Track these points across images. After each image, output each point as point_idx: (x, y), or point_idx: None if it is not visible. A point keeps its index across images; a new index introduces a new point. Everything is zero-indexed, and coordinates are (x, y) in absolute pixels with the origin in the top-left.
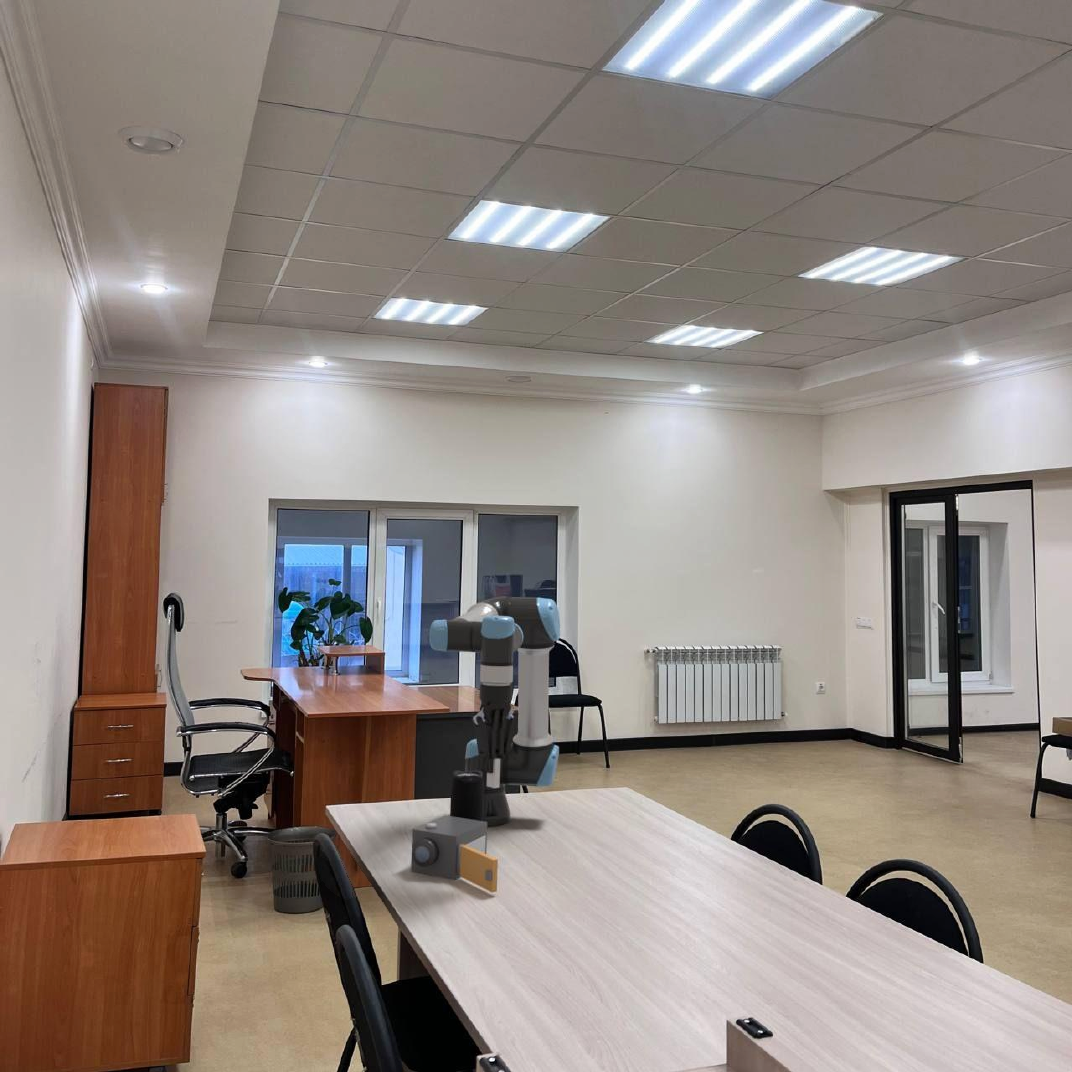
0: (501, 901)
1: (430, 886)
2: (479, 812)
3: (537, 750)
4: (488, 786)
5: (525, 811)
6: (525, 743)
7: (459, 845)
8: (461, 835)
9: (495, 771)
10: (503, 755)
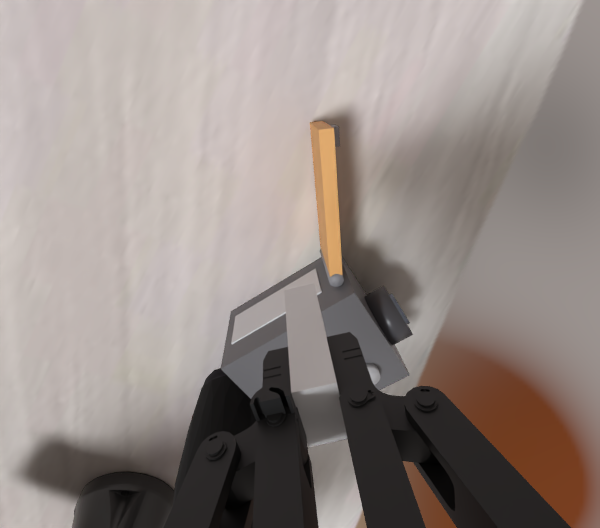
0: (316, 82)
1: (395, 236)
2: (206, 430)
3: None
4: (322, 318)
5: (35, 518)
6: None
7: (343, 278)
8: (332, 303)
9: (322, 331)
10: (263, 413)
